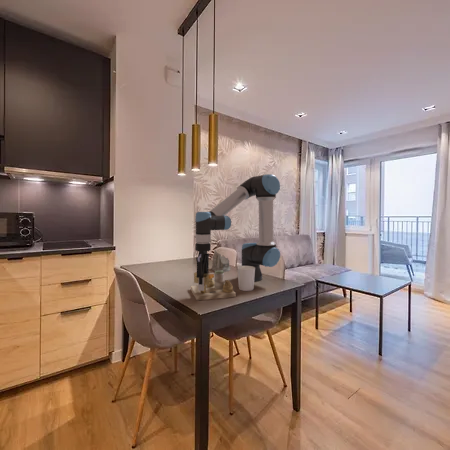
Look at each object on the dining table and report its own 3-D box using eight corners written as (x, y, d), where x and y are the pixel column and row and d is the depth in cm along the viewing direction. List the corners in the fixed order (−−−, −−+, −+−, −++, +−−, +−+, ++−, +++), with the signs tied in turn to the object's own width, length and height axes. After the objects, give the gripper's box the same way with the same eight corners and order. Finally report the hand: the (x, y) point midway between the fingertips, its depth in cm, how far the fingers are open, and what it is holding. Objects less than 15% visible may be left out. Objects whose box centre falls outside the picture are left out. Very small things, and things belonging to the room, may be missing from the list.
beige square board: (225, 286, 145) (225, 267, 145) (235, 296, 128) (236, 274, 128) (190, 289, 139) (190, 269, 139) (196, 300, 122) (196, 277, 122)
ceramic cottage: (218, 272, 179) (219, 251, 179) (208, 268, 193) (209, 249, 193) (237, 271, 187) (237, 251, 187) (225, 267, 201) (226, 249, 201)
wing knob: (197, 290, 131) (197, 271, 130) (213, 293, 126) (213, 274, 125) (194, 291, 128) (194, 272, 128) (210, 295, 123) (210, 275, 123)
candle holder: (248, 292, 135) (248, 270, 134) (233, 289, 141) (233, 267, 140) (258, 288, 142) (258, 267, 141) (244, 285, 148) (244, 264, 148)
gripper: (201, 240, 135) (201, 283, 136) (189, 244, 118) (189, 293, 120) (214, 241, 133) (214, 284, 135) (204, 245, 117) (204, 295, 118)
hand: (202, 288), depth 127 cm, fingers closed on wing knob, 4 cm apart
